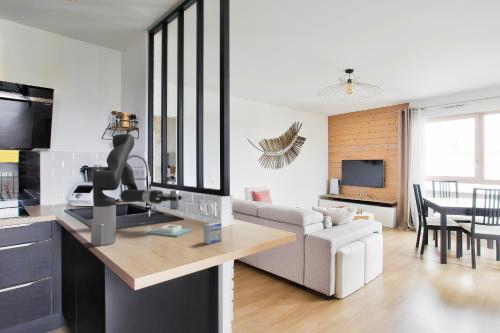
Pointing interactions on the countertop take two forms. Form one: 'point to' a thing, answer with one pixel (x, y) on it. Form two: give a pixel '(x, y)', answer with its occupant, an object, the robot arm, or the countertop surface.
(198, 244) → the countertop surface
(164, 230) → the housing tray
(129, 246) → the countertop surface
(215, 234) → the medicine box
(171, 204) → the metal hub
